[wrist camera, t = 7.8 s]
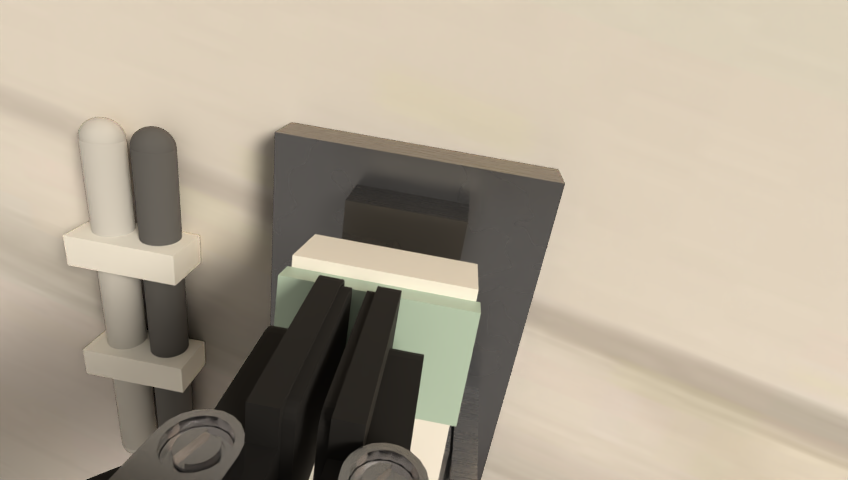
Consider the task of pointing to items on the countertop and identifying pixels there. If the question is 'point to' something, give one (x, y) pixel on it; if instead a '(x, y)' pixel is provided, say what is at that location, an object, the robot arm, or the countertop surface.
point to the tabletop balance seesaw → (427, 240)
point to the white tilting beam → (402, 320)
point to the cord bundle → (137, 274)
